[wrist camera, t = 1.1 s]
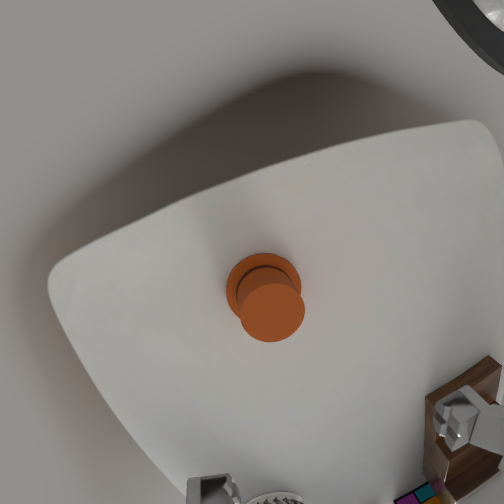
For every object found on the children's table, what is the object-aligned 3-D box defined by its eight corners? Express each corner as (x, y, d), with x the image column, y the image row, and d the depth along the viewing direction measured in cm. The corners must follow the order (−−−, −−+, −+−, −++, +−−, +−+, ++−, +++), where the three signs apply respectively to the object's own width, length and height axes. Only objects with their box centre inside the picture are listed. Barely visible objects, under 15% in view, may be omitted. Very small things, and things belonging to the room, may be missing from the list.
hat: (236, 245, 25) (240, 261, 20) (308, 262, 26) (327, 281, 21) (218, 314, 26) (218, 343, 21) (287, 328, 27) (300, 357, 22)
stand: (425, 396, 31) (472, 452, 21) (488, 355, 32) (540, 396, 21) (422, 473, 37) (449, 517, 26) (473, 440, 37) (505, 478, 26)
